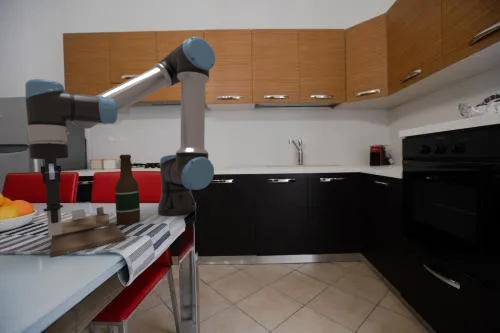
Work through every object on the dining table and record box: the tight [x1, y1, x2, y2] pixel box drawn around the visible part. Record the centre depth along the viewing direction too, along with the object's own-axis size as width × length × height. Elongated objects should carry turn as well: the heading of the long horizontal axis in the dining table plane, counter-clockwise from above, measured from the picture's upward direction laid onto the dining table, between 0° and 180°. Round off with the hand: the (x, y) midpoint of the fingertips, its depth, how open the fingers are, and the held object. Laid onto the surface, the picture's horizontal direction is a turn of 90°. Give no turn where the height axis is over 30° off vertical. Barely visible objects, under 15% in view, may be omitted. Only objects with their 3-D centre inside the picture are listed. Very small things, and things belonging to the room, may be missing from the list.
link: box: [61, 206, 110, 234], centre depth 71 cm, size 14×4×5 cm, turn 135°
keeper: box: [71, 209, 110, 230], centre depth 74 cm, size 10×7×6 cm
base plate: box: [49, 221, 126, 258], centre depth 68 cm, size 16×19×1 cm
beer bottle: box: [114, 154, 141, 226], centre depth 84 cm, size 8×8×24 cm
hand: (55, 234), depth 62 cm, fingers closed
